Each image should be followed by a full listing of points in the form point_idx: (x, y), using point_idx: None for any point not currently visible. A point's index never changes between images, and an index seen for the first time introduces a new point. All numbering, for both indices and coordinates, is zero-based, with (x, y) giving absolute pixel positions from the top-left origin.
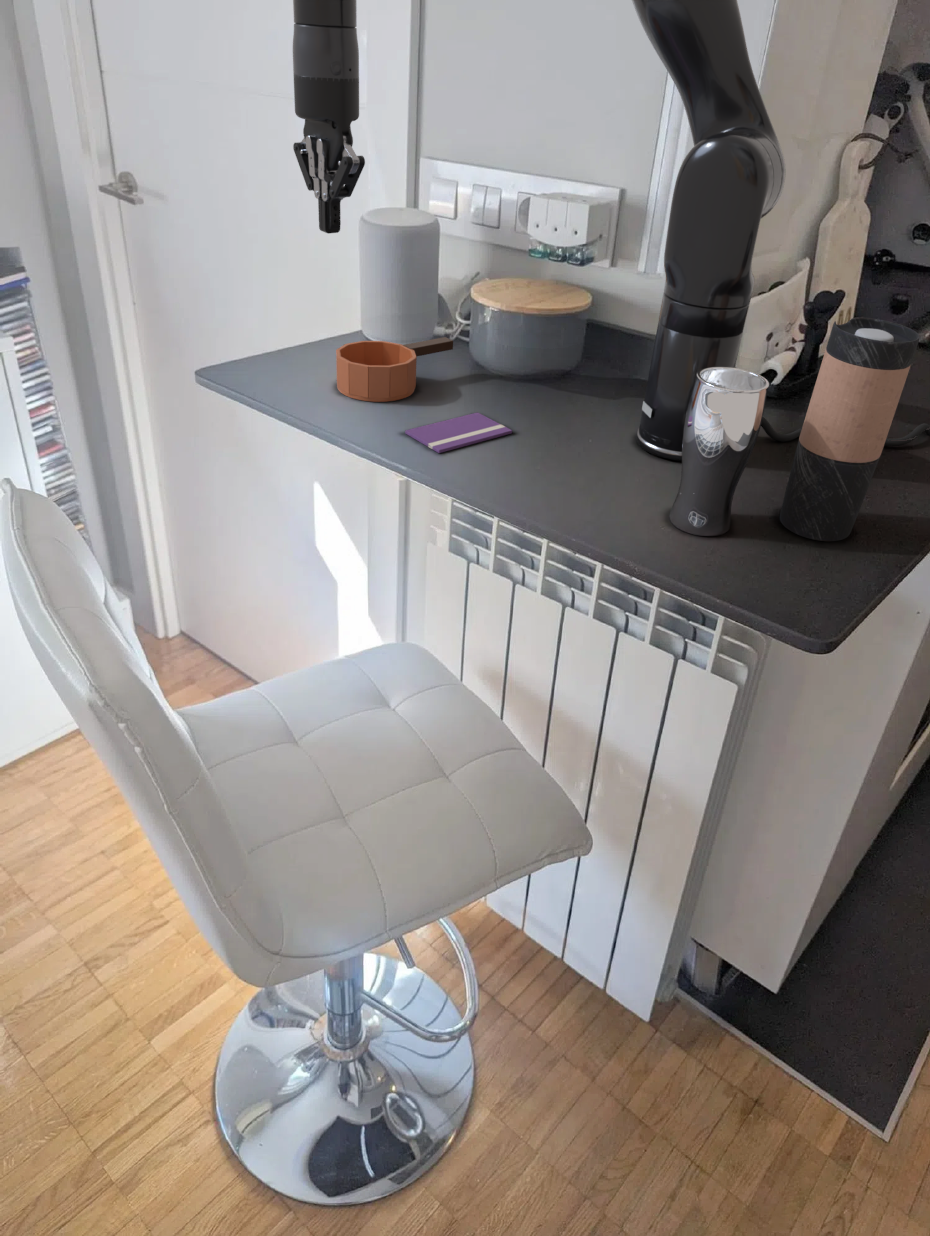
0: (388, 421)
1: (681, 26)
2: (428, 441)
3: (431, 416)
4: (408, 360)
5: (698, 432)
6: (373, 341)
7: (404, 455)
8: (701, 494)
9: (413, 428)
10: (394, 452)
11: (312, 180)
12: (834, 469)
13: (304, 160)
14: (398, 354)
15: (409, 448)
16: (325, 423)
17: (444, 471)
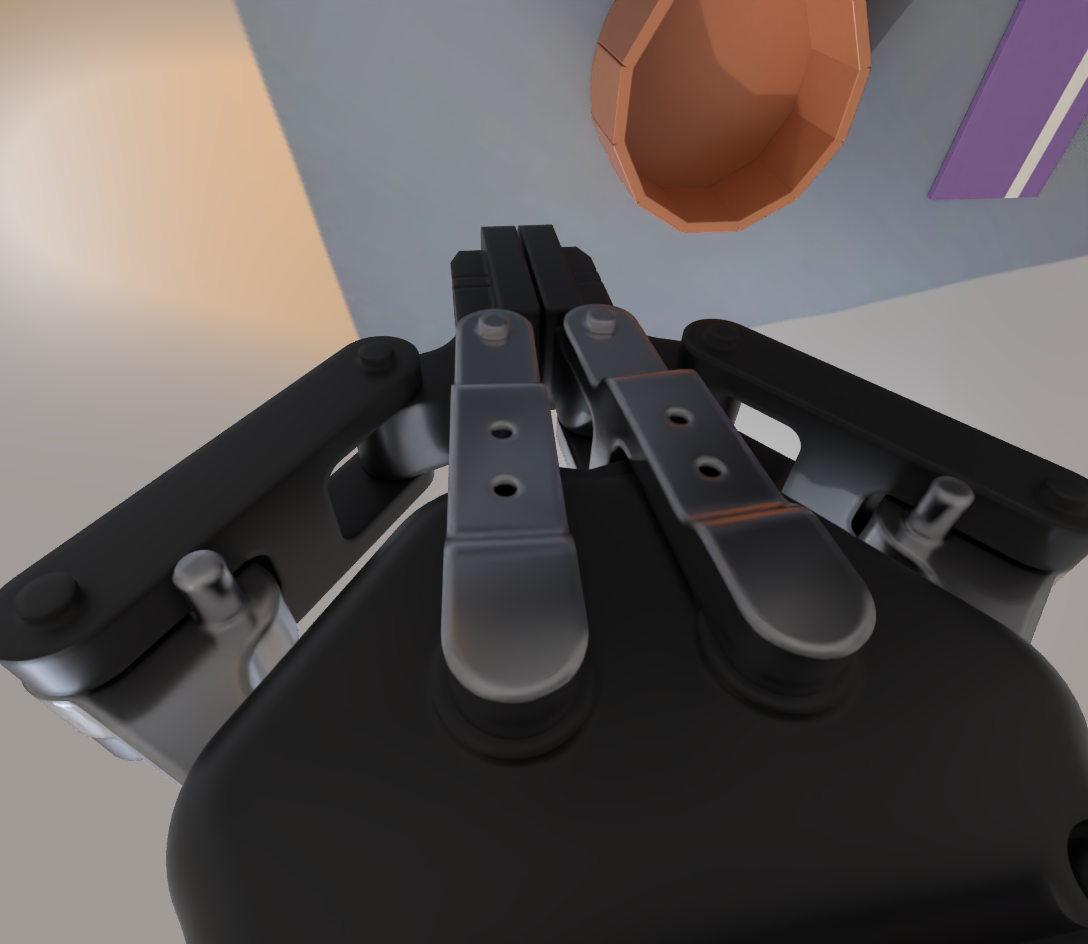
0: (861, 189)
1: None
2: (1001, 191)
3: (936, 67)
4: (860, 46)
5: None
6: (650, 31)
7: (970, 257)
8: None
9: (943, 178)
10: (947, 266)
11: (416, 484)
12: None
13: (302, 603)
14: None
15: (965, 231)
16: (764, 308)
17: (1066, 232)
